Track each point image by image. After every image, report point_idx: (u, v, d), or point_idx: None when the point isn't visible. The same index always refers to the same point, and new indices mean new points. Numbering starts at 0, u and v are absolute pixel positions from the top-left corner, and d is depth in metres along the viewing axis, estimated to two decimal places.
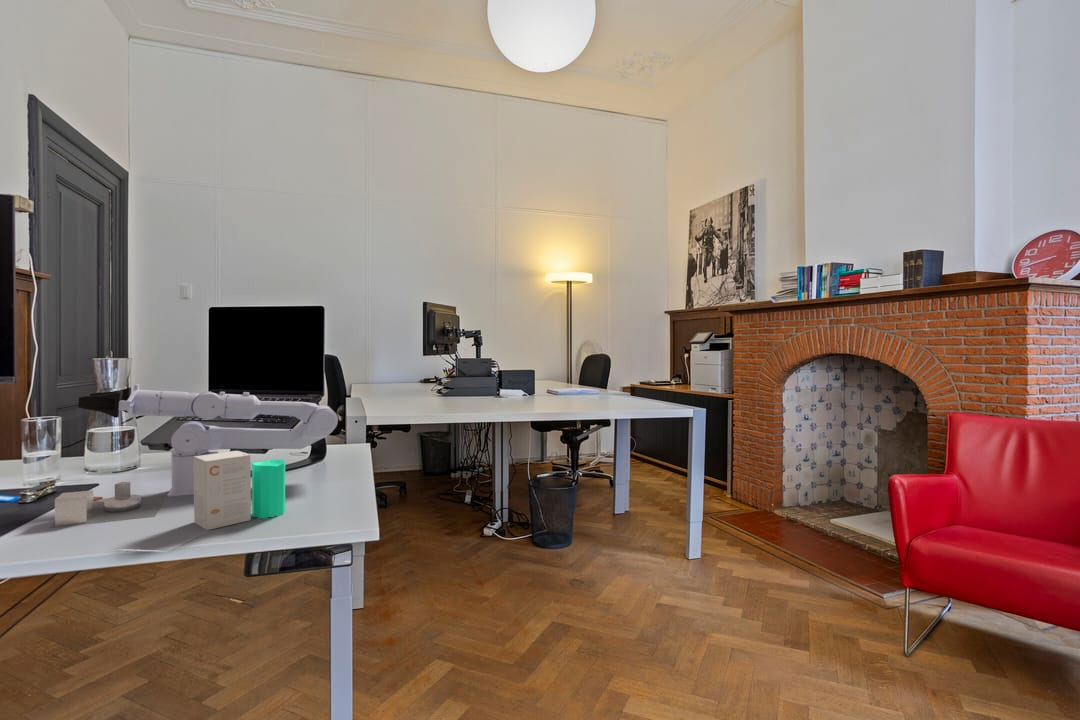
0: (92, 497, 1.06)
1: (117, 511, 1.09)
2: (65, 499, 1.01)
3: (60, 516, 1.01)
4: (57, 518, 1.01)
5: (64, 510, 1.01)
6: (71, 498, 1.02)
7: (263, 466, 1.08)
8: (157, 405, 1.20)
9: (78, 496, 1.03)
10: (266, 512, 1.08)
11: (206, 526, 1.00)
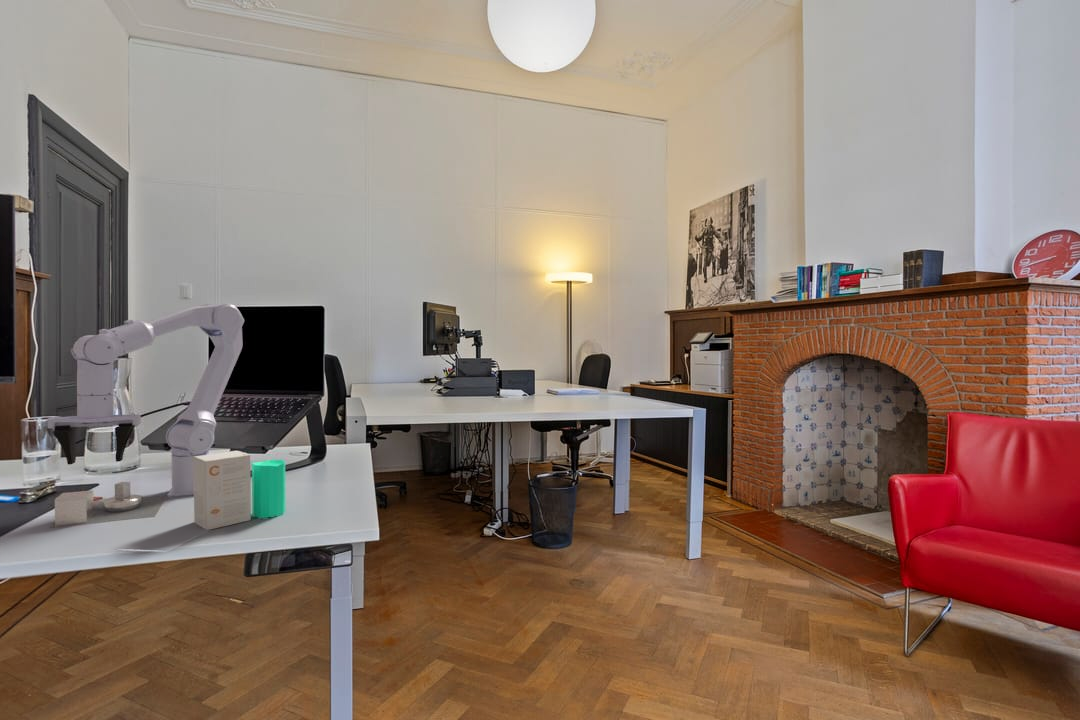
0: (92, 497, 1.06)
1: (117, 511, 1.09)
2: (65, 499, 1.01)
3: (60, 516, 1.01)
4: (57, 518, 1.01)
5: (64, 510, 1.01)
6: (71, 498, 1.02)
7: (263, 466, 1.08)
8: (112, 395, 1.11)
9: (78, 496, 1.03)
10: (266, 512, 1.08)
11: (206, 526, 1.00)
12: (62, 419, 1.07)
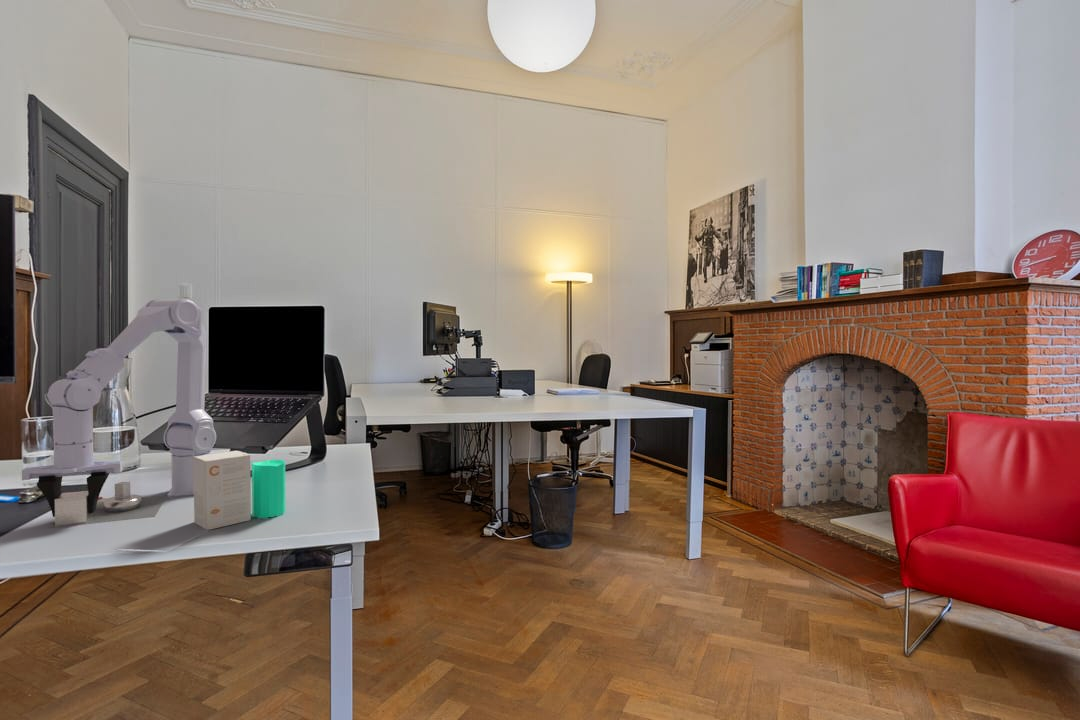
0: None
1: (117, 511, 1.09)
2: (65, 499, 1.01)
3: (60, 516, 1.01)
4: (57, 518, 1.01)
5: (64, 510, 1.01)
6: (71, 498, 1.02)
7: (263, 466, 1.08)
8: (91, 442, 1.05)
9: (78, 496, 1.03)
10: (266, 512, 1.08)
11: (206, 526, 1.00)
12: (38, 470, 1.00)
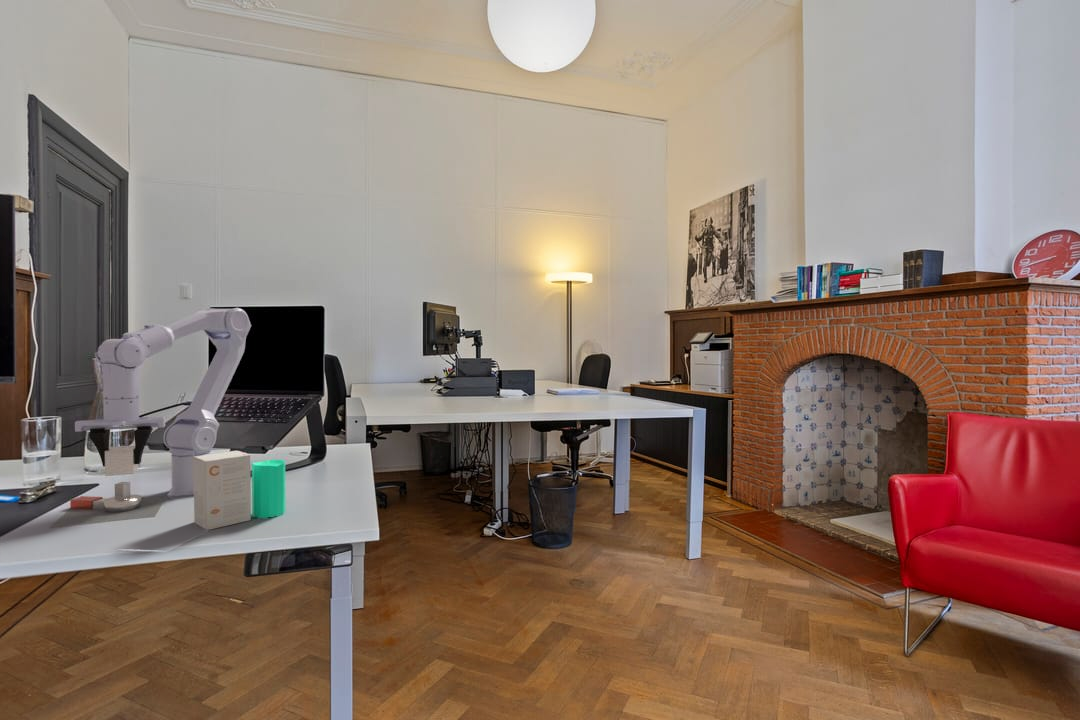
0: None
1: (117, 511, 1.09)
2: (114, 451, 1.09)
3: (109, 467, 1.09)
4: (107, 469, 1.09)
5: (113, 461, 1.09)
6: (119, 450, 1.09)
7: (263, 466, 1.08)
8: (137, 398, 1.12)
9: (126, 449, 1.10)
10: (266, 512, 1.08)
11: (206, 526, 1.00)
12: (89, 422, 1.08)
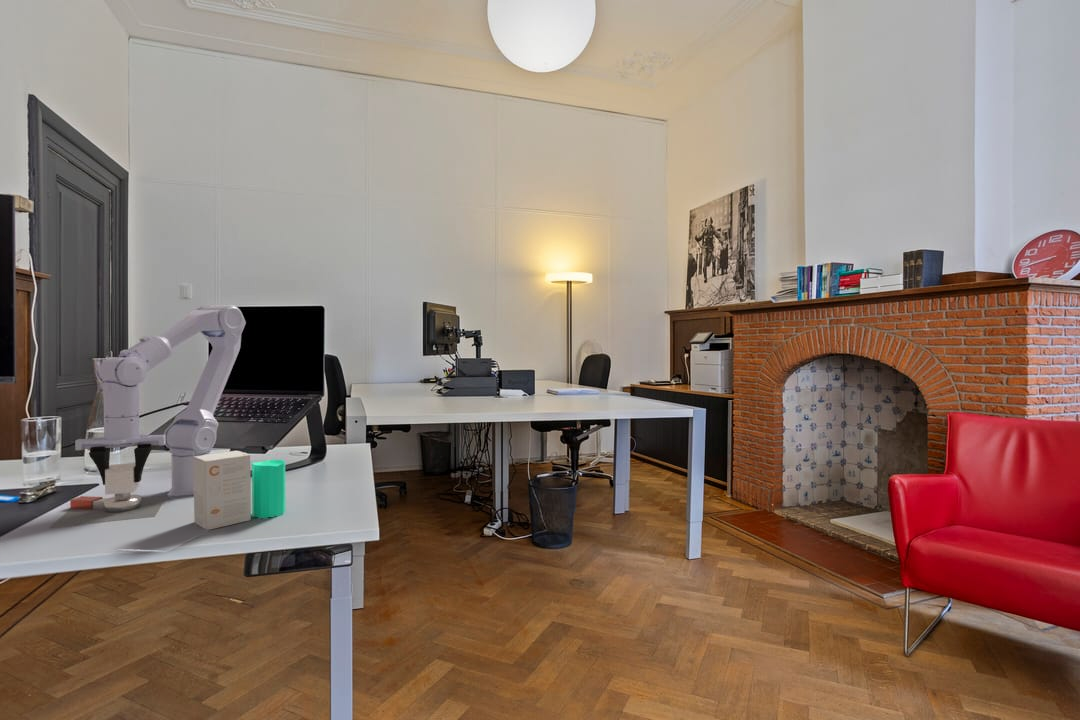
0: None
1: (117, 511, 1.09)
2: (114, 470, 1.09)
3: (110, 485, 1.09)
4: (107, 487, 1.09)
5: (113, 480, 1.09)
6: (120, 469, 1.10)
7: (263, 466, 1.08)
8: (138, 416, 1.13)
9: (126, 467, 1.10)
10: (266, 512, 1.08)
11: (206, 526, 1.00)
12: (90, 441, 1.08)
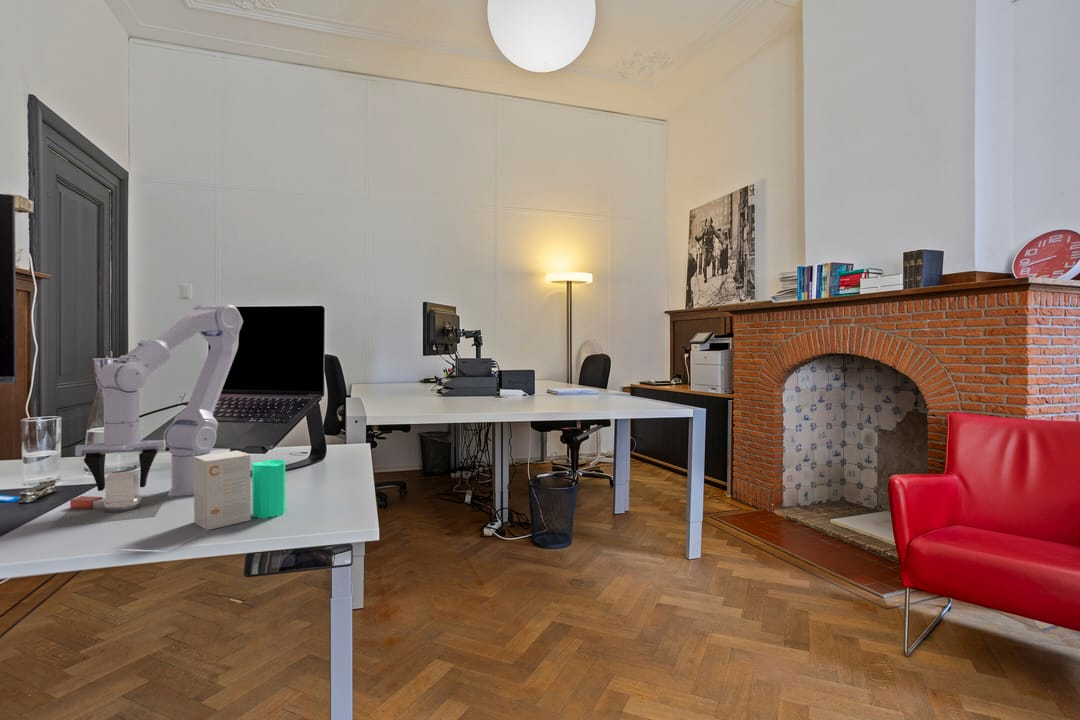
0: (137, 477, 1.14)
1: (117, 511, 1.09)
2: (114, 478, 1.09)
3: (110, 494, 1.09)
4: (107, 496, 1.09)
5: (114, 488, 1.09)
6: (120, 477, 1.10)
7: (263, 466, 1.08)
8: (138, 421, 1.13)
9: (126, 475, 1.11)
10: (266, 512, 1.08)
11: (206, 526, 1.00)
12: (90, 447, 1.08)
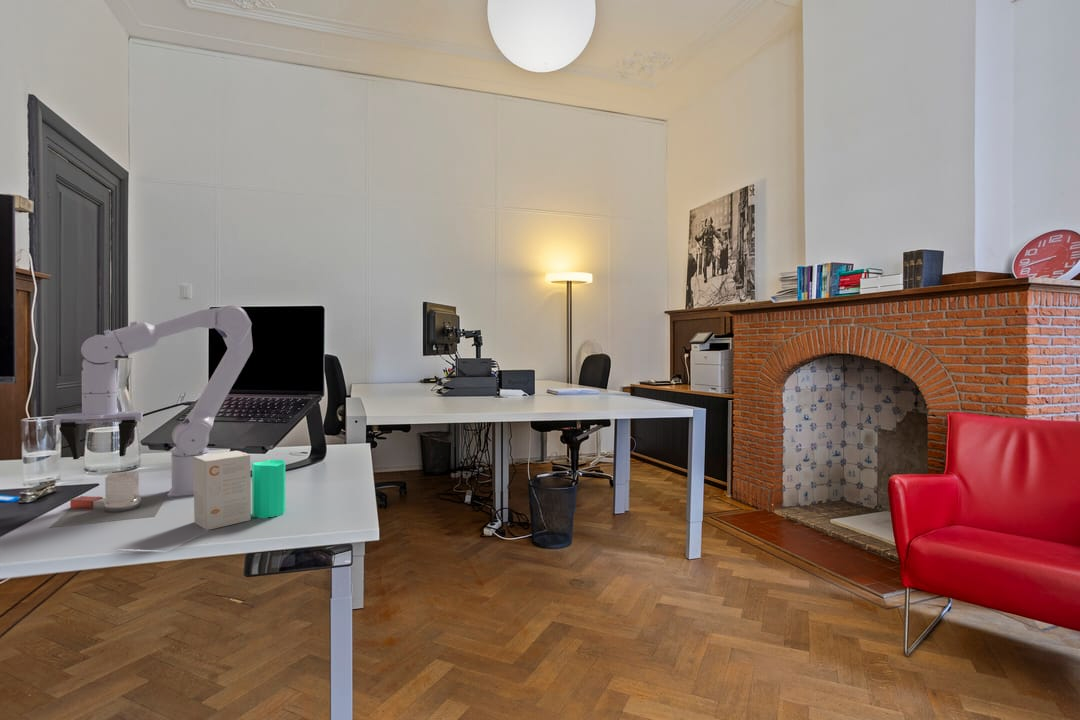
0: (137, 477, 1.14)
1: (117, 511, 1.09)
2: (114, 478, 1.09)
3: (110, 494, 1.09)
4: (107, 496, 1.09)
5: (114, 488, 1.09)
6: (120, 477, 1.10)
7: (263, 466, 1.08)
8: (115, 393, 1.16)
9: (126, 475, 1.11)
10: (266, 512, 1.08)
11: (206, 526, 1.00)
12: (68, 416, 1.12)
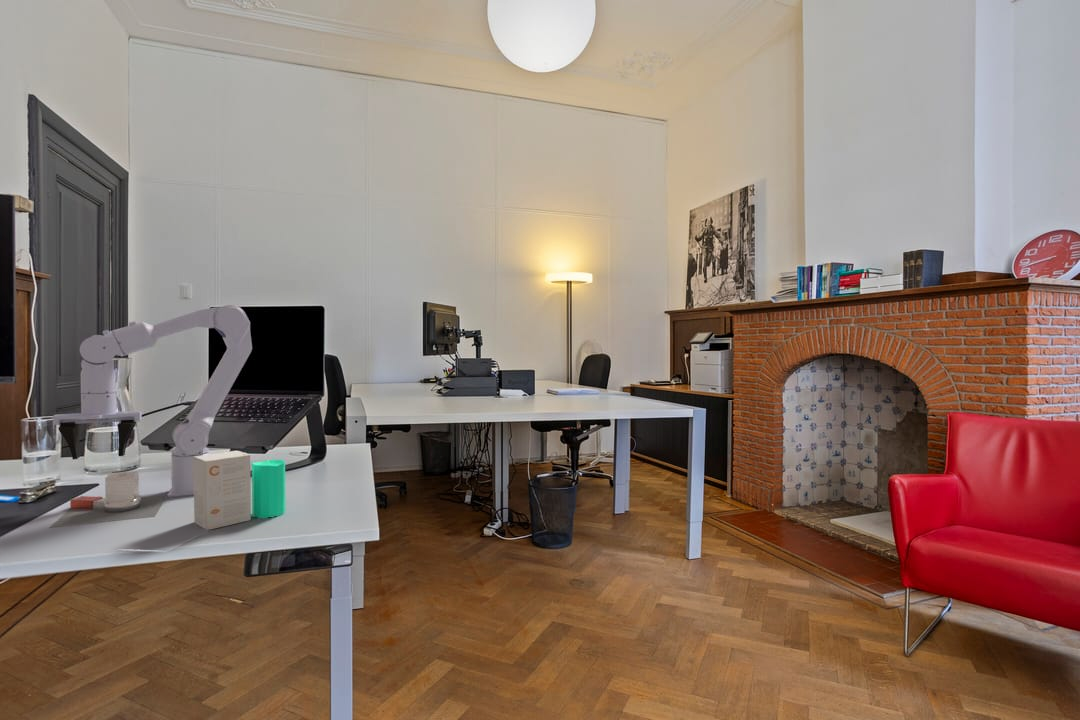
0: (137, 477, 1.14)
1: (117, 511, 1.09)
2: (114, 478, 1.09)
3: (110, 494, 1.09)
4: (107, 496, 1.09)
5: (114, 488, 1.09)
6: (120, 477, 1.10)
7: (263, 466, 1.08)
8: (114, 393, 1.17)
9: (126, 475, 1.11)
10: (266, 512, 1.08)
11: (206, 526, 1.00)
12: (67, 416, 1.12)
